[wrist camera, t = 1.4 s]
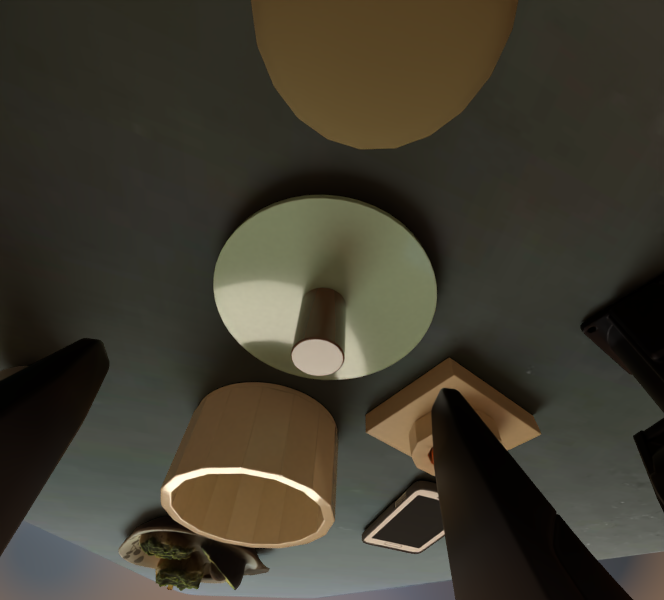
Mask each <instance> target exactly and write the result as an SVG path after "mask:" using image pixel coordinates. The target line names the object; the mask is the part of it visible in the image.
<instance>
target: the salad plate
mask: <svg viewBox="0 0 664 600" xmlns="http://www.w3.org/2000/svg"><path fill="white" fill-rule="evenodd" d="M119 554H120V556H121V557H122V558H124V559H125V560H127V561H128V562H130V563H133V564H135V565H139V566H144V567H149V568H154V569H156V583H158V584H159V586H160V587H161V586H166V585H168V587H167V589H168V590H172V588H173V585H174V586H177V588H179V590H180V591H182V590H183V589H185V588H188V589H191V588H195V589H198V588H199V585H200V582H203V583H224V582H227V583H228V584H229V585H230V586H231V587H232V588H233V589H234V590H236V589H237V588H238V586H239V585H240V583H241V581H242V578H243V575H255V574H261V573H266V572H268V571H269V569H270V568H267V567H266V566H265V565H264V564H263V563H262V562H261V560H260V559H259V557H258V555H257V553H256V551H255V548H253V547H246V546H240V545H235V544H229V543H223V542H220V541H217V540H214V539H211V538H208V537H205V536H202V535H200V534H197V533H195V532H193V531H191V530H189V529H188V528H186V527H184V526H183V525H181V524H179V523H178V522H176V521H174V520H173V519H172V518H171V516H164V517H159V518H156V519H154V520H152V521H149V522H147V523H144V524H142V525H140V526H138V527H137V528H136V529H135V530H134V532H133V533H132V534H131V535H130V536H129V537H128V538H127V539H126V540H125V541H124V543H123V544H122V545H121V547H120V548H119Z"/></svg>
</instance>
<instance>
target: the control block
mask: <svg viewBox="0 0 664 600" xmlns="http://www.w3.org/2000/svg"><path fill="white" fill-rule="evenodd" d="M442 388H451V389H456V390H458V391H459V392H460V393H461V394H462V395H463V397H464V398H465V399H466V400H467V402H468V403H469V404H470V405H471V407H472V408H473V409H474V410H475V412H476V413H477V414H478V415H479V416H480V418H481V419H482V420H483V421H484V423H485V424H486V425H487V426H488V428H489V429H490V430H491V431H492V433H493V434H494V435H495V436H496V437H497V439H498V440H499V441H500V442H501V444H502V445H503V446H504V447H505V449H506V450H510V449H512V448H514V447H516V446H518V445H520V444H522V443H524V442H526V441H528V440H531V439H533V438H535V437H537V436H539V435H541V432H540V430H539V427H538V425H537V423H536V421H535V419H534V417H533V415H531V414H530V413H528V412H527V411H525V410H524V409H523V408H521V407H520V406H518V405H517V404H515V403H514V402H513V401H511V400H510V399H508V398H507V397H505V396H504V395H503V394H501V393H500V392H498V391H497V390H495V389H494V388H493V387H491V386H490V385H488V384H487V383H485V382H484V381H483V380H481V379H480V378H478V377H477V376H475V375H474V374H472V373H471V372H470V371H468V370H467V369H465V368H464V367H462V366H461V365H460V364H458V363H457V362H455V361H454V360H452V359H451V358H447V359H446V360H444V361H443V362H441V363H440V364H439V365H437V366H436V367H434V368H433V369H431V370H430V371H428V372H427V373H425V374H424V375H423V376H421V377H420V378H418V379H417V380H415V381H414V382H412V383H411V384H409V385H408V386H407V387H405V388H404V389H402V390H401V391H399V392H398V393H396V394H395V395H393V396H392V397H391V398H389V399H388V400H386V401H385V402H383V403H382V404H380V405H379V406H377V407H376V408H375V409H373V410H372V411H370V412H369V413H367V414H366V415H365V416H366V433H368V434H370V435H372V436H374V437H375V438H377V439H379V440H381V441H383V442H385V443H387V444H388V445H390V446H392V447H394V448H396V449H398V450H400V451H402V452H403V453H405V454H407V455H409V456H411V457H412V458H413V460H414V463H415V465H416V467H418V468H419V469H421V470H423V471H425V472H427V473H429V474H431V475H433V476H435V471H434V463H433V457H432V449H433V439H432V420H431V410H432V406H433V404H434V402H435V400H436V398H437V396H438V393H439V391H440V390H441V389H442Z"/></svg>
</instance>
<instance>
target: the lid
mask: <svg viewBox="0 0 664 600" xmlns="http://www.w3.org/2000/svg"><path fill="white" fill-rule="evenodd" d="M213 290H214V297H215V302H216V305H217V309H218V312H219V314H220V316H221V318H222V321H223V323H224V324H225V326H226V327H227V329H228V331H229V332H230V333H231V335H232V336H233V337H234V338H235V339H236V341H237V342H238V343H239V344H240V345H241V346H242V347H243V348H244V349H245V350H247V351H248V352H249V353H251V354H252V355H253V356H254V357H256V358H258V359H259V360H261V361H262V362H264V363H266V364H268V365H270V366H272V367H274V368H276V369H278V370H281V371H283V372H286V373H289V374H293V375H296V376H300V377H305V378H310V379H320V380H342V379H351V378H357V377H362V376H365V375H369V374H372V373H375V372H377V371H380V370H383V369H385V368H387V367H389V366H390V365H392V364H394V363H396V362H397V361H399V360H400V359H402V358H403V357H404V356H406V355H407V354H408V353H409V352H410V351H411V350H413V348H414V347H415V346H416V345H417V344H418V343H419V342H420V341H421V339H422V338H423V336H424V335H425V333H426V332H427V330H428V328H429V326H430V324H431V322H432V319H433V316H434V313H435V309H436V302H437V284H436V279H435V273H434V270H433V267H432V265H431V262H430V259H429V257H428V255H427V253H426V251H425V249H424V248H423V246H422V244H421V243H420V242H419V240H418V239H417V238H416V237H415V235H414V234H413V233H412V232H411V231H410V230H409V229H408V228H407V227H406V226H405V225H404V224H403V223H401V222H400V221H399V220H397V219H396V218H394V217H393V216H392V215H390V214H389V213H387V212H385V211H383V210H381V209H379V208H377V207H375V206H373V205H370V204H368V203H365V202H362V201H359V200H356V199H351V198H347V197H343V196H333V195H306V196H299V197H293V198H289V199H286V200H282V201H279V202H276V203H273V204H271V205H269V206H267V207H265V208H263V209H260V210H259V211H257V212H256V213H254V214H253V215H251V216H250V217H248V218H247V219H246V220H245V221H244V222H243V223H242V224H240V225H239V226H238V227H237V228H236V230H235V231H234V232H233V233H232V234H231V236H230V237H229V238H228V240H227V241H226V243H225V245H224V247H223V248H222V250H221V252H220V254H219V257H218V260H217V263H216V266H215V271H214V280H213Z"/></svg>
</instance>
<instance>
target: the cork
mask: <svg viewBox="0 0 664 600" xmlns="http://www.w3.org/2000/svg"><path fill="white" fill-rule="evenodd" d="M517 4H518V0H251V5H252V12H253V19H254V26H255V34H256V41H257V46H258V48H259V51H260V53H261V56H262V58H263V61H264V63H265V66H266V68H267V70H268V73H269V75H270V78H271V80H272V83H273V85H274V87H275V88H276V90H277V91H278V92H279V94H280V95H281V96H282V98H283V99H284V100H285V102H286V103H287V104H288V106H289V107H290V108H291V109H292V111H293V112H294V113H295V115H296V116H297V117H298V118H299V119H300V120H301V121H303V122H304V123H306V124H307V125H308V126H310V127H311V128H313V129H314V130H315V131H317V132H318V133H320V134H321V135H322V136H324V137H325V138H326V139H328V140H332V141H335V142H338V143H341V144H345V145H348V146H351V147H354V148H358V149H386V148H397V147H400V146H403V145H406V144H408V143H411V142H414V141H417V140H419V139H422V138H425V137H427V136H430V135H431V134H433V133H434V132H435V131H437V130H438V129H439V128H441V127H442V126H444V125H445V124H446V123H448V122H449V121H450V120H452V119H453V118H454V117H456V116H457V115H458V114H460V113H461V112H462V111H463V110H464V109H465V108H466V106H467V105H468V104H469V103H470V101H471V100H472V99H473V98H474V96H475V95H476V94H477V93H478V91H479V90H480V89H481V88H482V86H483V85H484V84H485V83H486V81H487V80H488V79H489V77H490V76H491V74H492V72H493V70H494V68H495V66H496V64H497V61H498V59H499V57H500V55H501V53H502V51H503V48H504V46H505V44H506V42H507V40H508V38H509V36H510V33H511V31H512V29H513V24H514V19H515V14H516V9H517Z"/></svg>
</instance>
